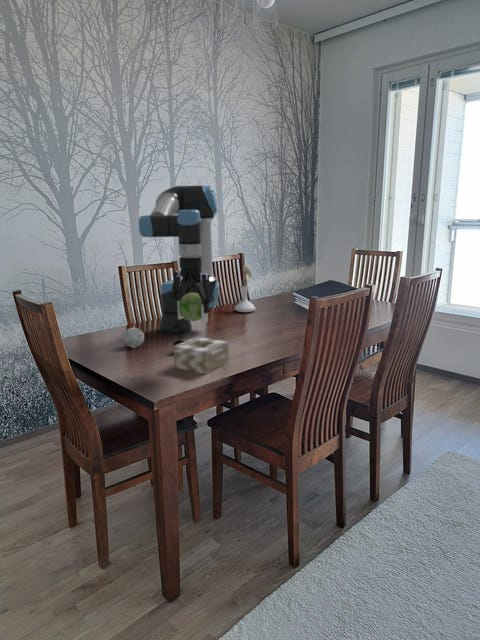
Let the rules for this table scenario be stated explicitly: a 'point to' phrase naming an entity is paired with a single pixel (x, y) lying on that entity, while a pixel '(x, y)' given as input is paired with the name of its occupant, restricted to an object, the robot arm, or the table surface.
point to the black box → (174, 345)
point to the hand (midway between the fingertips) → (192, 320)
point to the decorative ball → (190, 306)
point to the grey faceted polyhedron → (133, 337)
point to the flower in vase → (245, 296)
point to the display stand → (200, 354)
